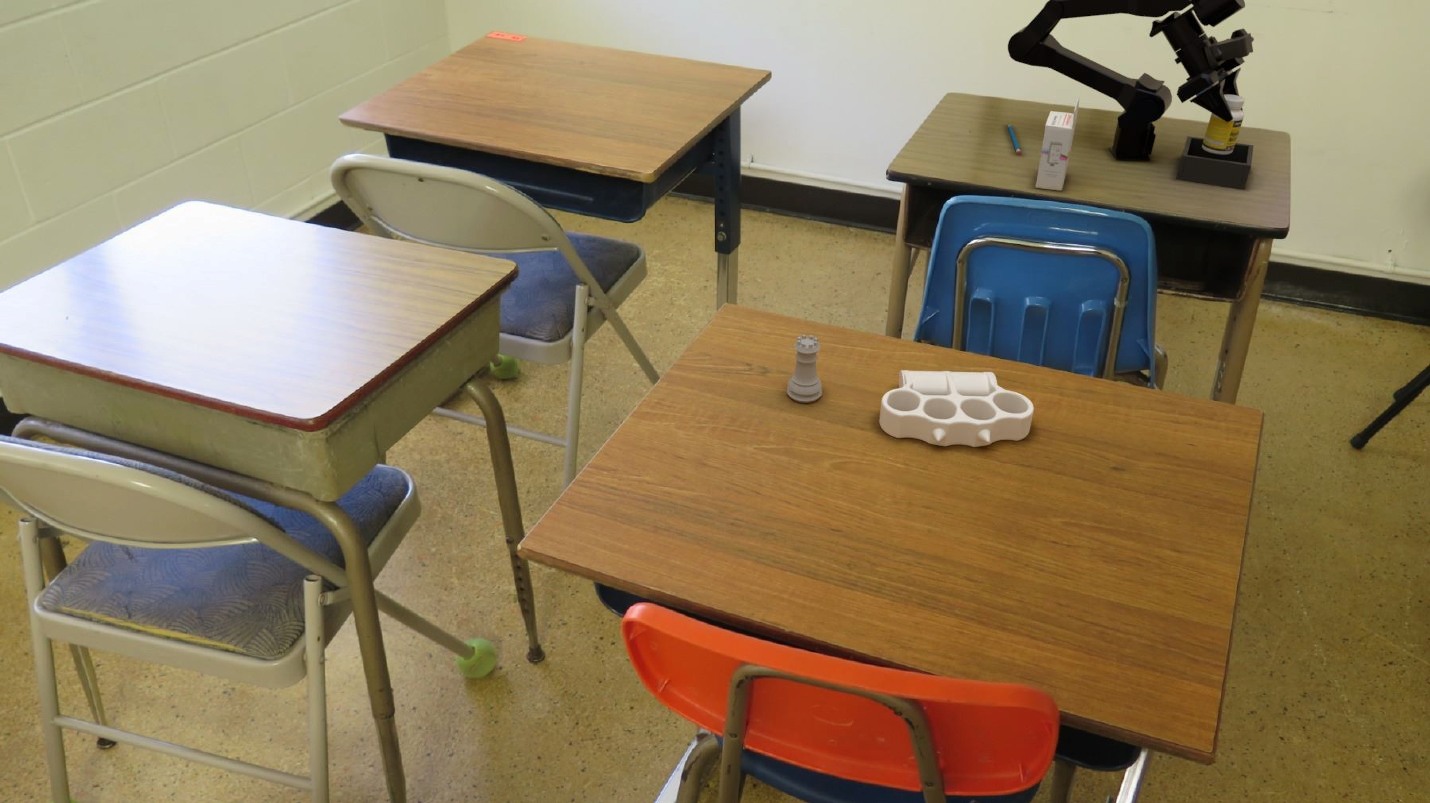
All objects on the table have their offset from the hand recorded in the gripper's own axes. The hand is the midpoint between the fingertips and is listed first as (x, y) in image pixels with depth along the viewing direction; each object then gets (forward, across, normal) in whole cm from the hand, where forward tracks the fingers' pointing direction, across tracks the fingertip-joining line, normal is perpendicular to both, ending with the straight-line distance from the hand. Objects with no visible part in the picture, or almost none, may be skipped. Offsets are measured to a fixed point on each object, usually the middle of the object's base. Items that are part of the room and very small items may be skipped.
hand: (1235, 116), depth 190 cm
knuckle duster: (+8, -103, +8) cm, 104 cm away
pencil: (-18, -7, +35) cm, 40 cm away
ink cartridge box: (-8, -23, +24) cm, 34 cm away
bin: (+7, 0, +9) cm, 11 cm away
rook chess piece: (-3, -110, +20) cm, 112 cm away
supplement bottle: (+4, 0, +6) cm, 7 cm away
